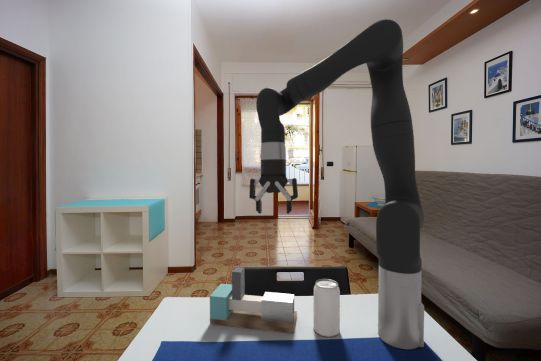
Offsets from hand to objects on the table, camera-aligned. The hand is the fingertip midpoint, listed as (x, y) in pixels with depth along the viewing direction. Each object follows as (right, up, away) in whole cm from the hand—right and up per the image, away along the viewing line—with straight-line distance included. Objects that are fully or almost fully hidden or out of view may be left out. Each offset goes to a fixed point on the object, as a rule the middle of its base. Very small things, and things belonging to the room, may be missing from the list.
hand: (273, 213), depth 81 cm
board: (-5, -28, -8) cm, 29 cm away
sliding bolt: (-8, -25, -7) cm, 27 cm away
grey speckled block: (+1, -26, -9) cm, 28 cm away
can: (+13, -28, -12) cm, 33 cm away
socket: (-14, -26, -6) cm, 30 cm away
